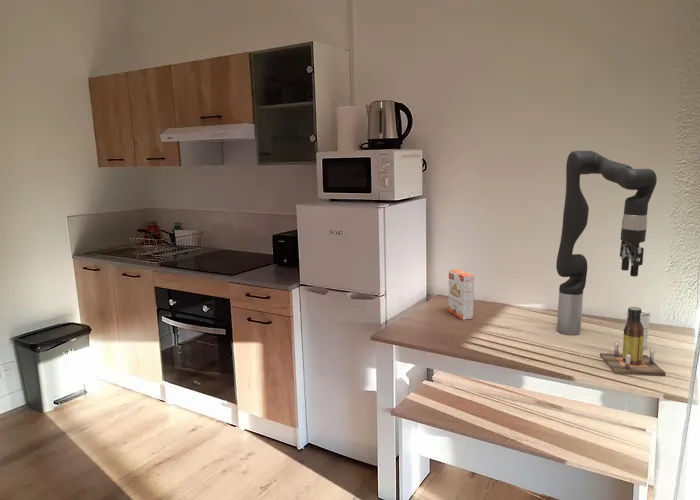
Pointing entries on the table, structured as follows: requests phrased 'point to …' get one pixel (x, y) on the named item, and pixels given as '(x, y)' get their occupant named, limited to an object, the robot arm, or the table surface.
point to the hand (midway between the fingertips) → (629, 273)
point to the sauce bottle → (633, 337)
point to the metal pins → (628, 356)
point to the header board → (631, 366)
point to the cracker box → (461, 294)
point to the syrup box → (644, 322)
